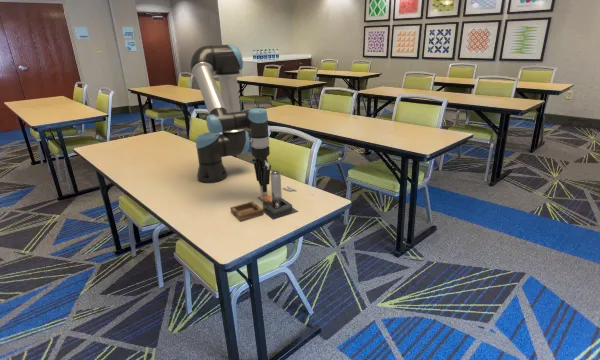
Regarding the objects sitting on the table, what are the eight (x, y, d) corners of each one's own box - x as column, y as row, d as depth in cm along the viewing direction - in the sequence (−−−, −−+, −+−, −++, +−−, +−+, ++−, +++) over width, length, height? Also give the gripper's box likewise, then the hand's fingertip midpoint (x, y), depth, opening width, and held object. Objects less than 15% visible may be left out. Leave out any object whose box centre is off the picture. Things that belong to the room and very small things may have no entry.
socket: (248, 201, 158) (247, 194, 157) (272, 194, 164) (271, 188, 163) (273, 221, 140) (272, 214, 139) (298, 212, 146) (298, 206, 145)
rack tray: (231, 213, 147) (230, 207, 146) (253, 207, 152) (252, 201, 151) (241, 223, 139) (240, 216, 138) (263, 216, 144) (263, 209, 143)
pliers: (297, 199, 155) (276, 189, 166) (297, 202, 156) (277, 192, 167) (314, 193, 161) (293, 184, 172) (314, 196, 162) (293, 187, 172)
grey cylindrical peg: (271, 208, 149) (268, 171, 143) (279, 206, 151) (277, 169, 145) (275, 212, 146) (273, 174, 140) (284, 209, 148) (282, 172, 142)
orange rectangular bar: (262, 200, 157) (262, 195, 156) (267, 198, 158) (267, 193, 157) (271, 206, 150) (270, 201, 149) (276, 205, 151) (275, 199, 151)
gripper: (245, 144, 152) (250, 194, 161) (259, 151, 142) (263, 205, 151) (261, 141, 156) (265, 191, 165) (275, 148, 146) (278, 200, 154)
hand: (264, 197), depth 158 cm, fingers closed
